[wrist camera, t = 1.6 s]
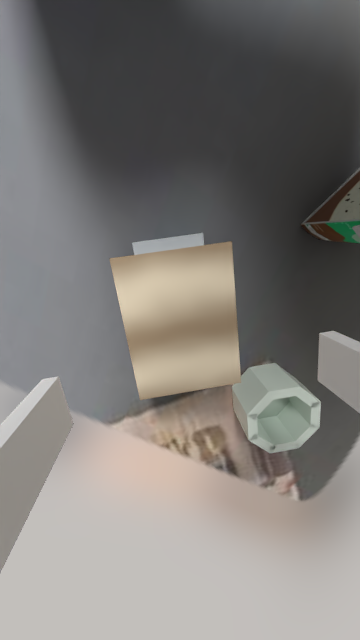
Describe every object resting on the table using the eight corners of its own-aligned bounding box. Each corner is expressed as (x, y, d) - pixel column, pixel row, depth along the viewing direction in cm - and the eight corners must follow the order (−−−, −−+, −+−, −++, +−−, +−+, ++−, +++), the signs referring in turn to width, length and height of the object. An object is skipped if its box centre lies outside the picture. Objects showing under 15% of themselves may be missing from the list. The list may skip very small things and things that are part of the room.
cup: (230, 370, 27) (245, 395, 22) (293, 359, 27) (322, 382, 23) (234, 423, 29) (249, 457, 24) (292, 413, 30) (318, 444, 25)
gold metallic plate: (116, 257, 20) (109, 258, 17) (221, 242, 20) (231, 241, 17) (142, 381, 23) (140, 400, 20) (230, 366, 24) (241, 382, 21)
